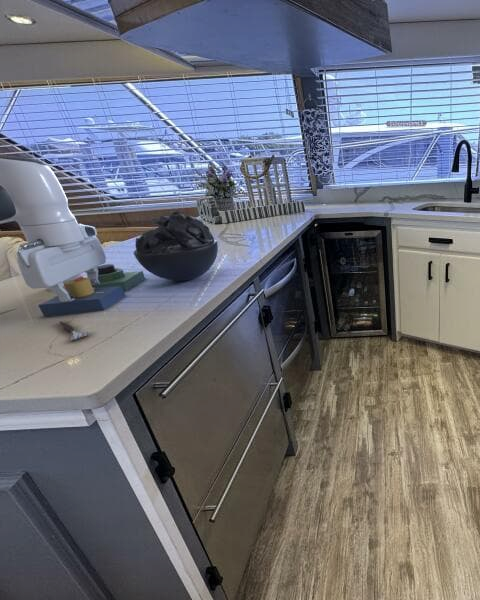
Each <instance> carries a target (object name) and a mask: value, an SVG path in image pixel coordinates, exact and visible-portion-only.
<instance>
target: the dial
mask: <svg viewBox="0 0 480 600" xmlns="http://www.w3.org/2000/svg"><path fill="white" fill-rule="evenodd" d="M63 284H64V286H65V290H66V291H67V292H71V293H72V296H73V298H78V297H84V296H87V295H90V294H92V293H94V290H93V287H92V285H91V283H90V281H89V279H88V277H84V276H82V277H79V278H77V279H73V280H69V281H66V282H64V283H63Z"/></svg>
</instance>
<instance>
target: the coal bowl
mask: <svg viewBox="0 0 480 600" xmlns="http://www.w3.org/2000/svg"><path fill="white" fill-rule="evenodd" d="M152 221H153V222H154V223H155V224H157V227H156V228H155V229H150V230H147V231H145V232H143V233H142V234H141V236H139V237H136V238H135V250H134V251H133V255H134V258H135V259H136V261H137V262H138V263H139V264H140V265H141V266H142V267H143V268H144V269H145V270H146V271H148V272H149V273H150V274H152V275H154V276H156V277H158V278H161V279H164V280H168V281H173V282H174V281H176V282H182V281H189V280H193V279H196V278H200V277H201V276H202V275H204V274H206V273H207V272H208V271H209V270H210V269H211V267H212V266H213V265H214V263H215V262H216V260H217V257H218V253H219V251H218V250H219V246H218V245H219V244H218V241H217V239H215V238H214V236H213V234H212V232H211V231H210V228H209V226H207V225H206V224H204V222H203V220H202V219H200V218H197V217H196V218H195V217H194V216H191V215H188V214H186V215H184V214H181V211H179V210H176V211H173V212H172V213H170V214H169V215H168V216H166V215H160V216H159V217H153V218H152Z"/></svg>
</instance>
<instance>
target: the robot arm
mask: <svg viewBox="0 0 480 600" xmlns="http://www.w3.org/2000/svg"><path fill="white" fill-rule="evenodd" d="M6 223H17V224H18V226H19V228H20V230H21V232H22V233H23V235H24V238H25V239H26V240H25V241H26V242H25V243H21V244H19V247H18V249H17V251H16V256H17V258H16V260H17V264H18V265H17V266H18V268H19V270H20V273H21V275H22V278H23V280H24V282H25V284H26V286H28V287H29V288H31V289H33V290H35V289H36V290H37V289H45V288H47V289H48V290H49V291H50V292H52V293H53V294H55V295H56V296H58V298H59V300H60V301H61V302H65V301H69V300H71V299H73V296H72V293H71V292H67V290H66V288H65V289H64V288H63V286H64V284H63V281H65V280H67V279H70V278H72V277H74V276H76V275H79V274H81V275H82V274H83V273H85V274H86V276H87V277H86V278H88V279H89V281H90V283H91V285H92V287H96V286H98V285H99V284H100V283H99V280H98V269H97V267H98V266H101V265H105V264H106V261H107V257H106V253H105V250H104V247H103V245H102V243H101V241H100V239H99V238H98V237H97V235H98V231H97V229H96V227H95V226H92V225H86V224H82V223H78V221H77V219H76V217H75V215H74V214H73V213H72V211H71V210H70V208H69V202H68V198H67V195H66V194H65V191H64V189H63V186H62V185H61V182H60V181H59V180H58V177H57V176H56V175H55V173H54V171H53V170H52V169H51V167H50V166H49V165H48V164H47V163H45V162H43V161H42V160H40V159H35V158H30V157H22V156H10V155H0V225H2V224H6ZM27 242H28V243H27Z"/></svg>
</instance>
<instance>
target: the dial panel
mask: <svg viewBox="0 0 480 600" xmlns="http://www.w3.org/2000/svg"><path fill="white" fill-rule="evenodd" d="M93 290H94V293H92V294H90V295H87V296H84V297H78V298H73V299H71V300H69V301H65V302H61V301H60V300H59V298H58V296H57V295H56V296H54V297H52V298H49V299H47V300H46V301H44V302H41V303H39V304H38V307H39V309H40V311H41V313H42V314H43V317H45V318H46V317H54V316H64V315H74V314H81V313H84V314H85V313H93V312H100V311H105V310H107V309H109V308H111V306H113V305H114V304H116V303H119V301H121V300H123V299H124V298H126V294H125V291H123V288H122V286H113V287H103V288H93Z"/></svg>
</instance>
